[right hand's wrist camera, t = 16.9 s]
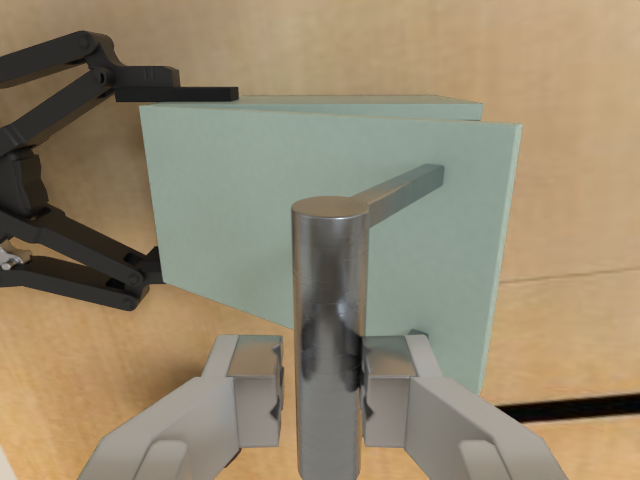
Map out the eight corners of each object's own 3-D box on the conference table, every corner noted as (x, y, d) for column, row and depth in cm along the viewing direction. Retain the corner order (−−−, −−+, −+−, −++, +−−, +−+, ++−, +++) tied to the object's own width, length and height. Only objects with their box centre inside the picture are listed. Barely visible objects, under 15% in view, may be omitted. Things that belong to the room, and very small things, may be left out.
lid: (523, 123, 14) (427, 166, 7) (483, 386, 17) (393, 573, 11) (151, 104, 23) (-36, 116, 17) (174, 277, 26) (26, 343, 20)
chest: (436, 95, 33) (484, 103, 23) (425, 222, 36) (463, 275, 26) (197, 95, 32) (147, 104, 23) (209, 223, 36) (170, 276, 26)
